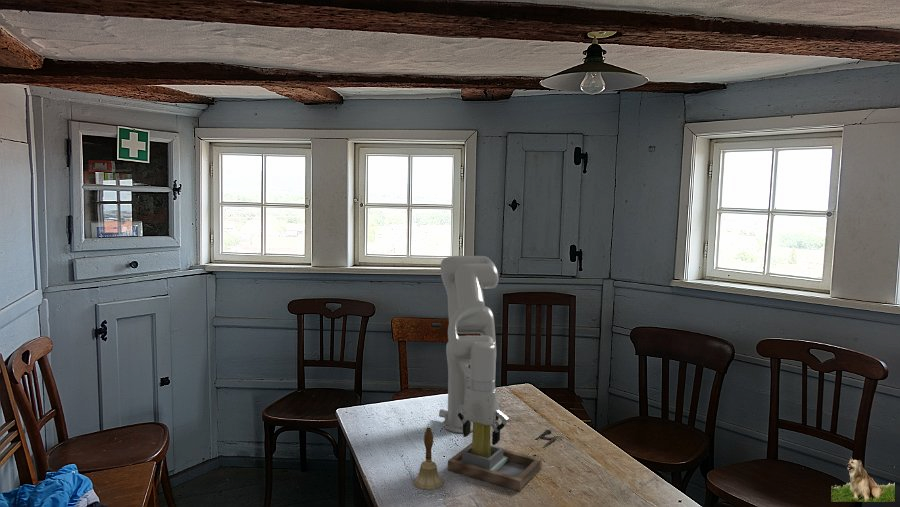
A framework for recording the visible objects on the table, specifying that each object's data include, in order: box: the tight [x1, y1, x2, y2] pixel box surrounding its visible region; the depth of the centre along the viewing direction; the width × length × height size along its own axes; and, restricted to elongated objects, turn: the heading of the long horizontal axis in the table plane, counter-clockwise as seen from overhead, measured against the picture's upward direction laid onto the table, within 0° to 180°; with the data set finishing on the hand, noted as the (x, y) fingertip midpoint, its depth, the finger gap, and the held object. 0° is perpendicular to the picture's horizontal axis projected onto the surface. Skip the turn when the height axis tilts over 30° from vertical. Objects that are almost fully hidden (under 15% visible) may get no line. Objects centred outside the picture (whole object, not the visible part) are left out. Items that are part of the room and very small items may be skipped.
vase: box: [471, 416, 492, 458], centre depth 171 cm, size 6×6×14 cm
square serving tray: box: [461, 444, 508, 471], centre depth 171 cm, size 11×12×4 cm
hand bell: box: [413, 427, 444, 491], centre depth 161 cm, size 8×8×16 cm
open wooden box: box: [447, 442, 543, 492], centre depth 169 cm, size 23×16×3 cm
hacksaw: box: [534, 429, 563, 449], centre depth 186 cm, size 24×10×2 cm, turn 144°
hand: (480, 439), depth 172 cm, fingers open, 9 cm apart
